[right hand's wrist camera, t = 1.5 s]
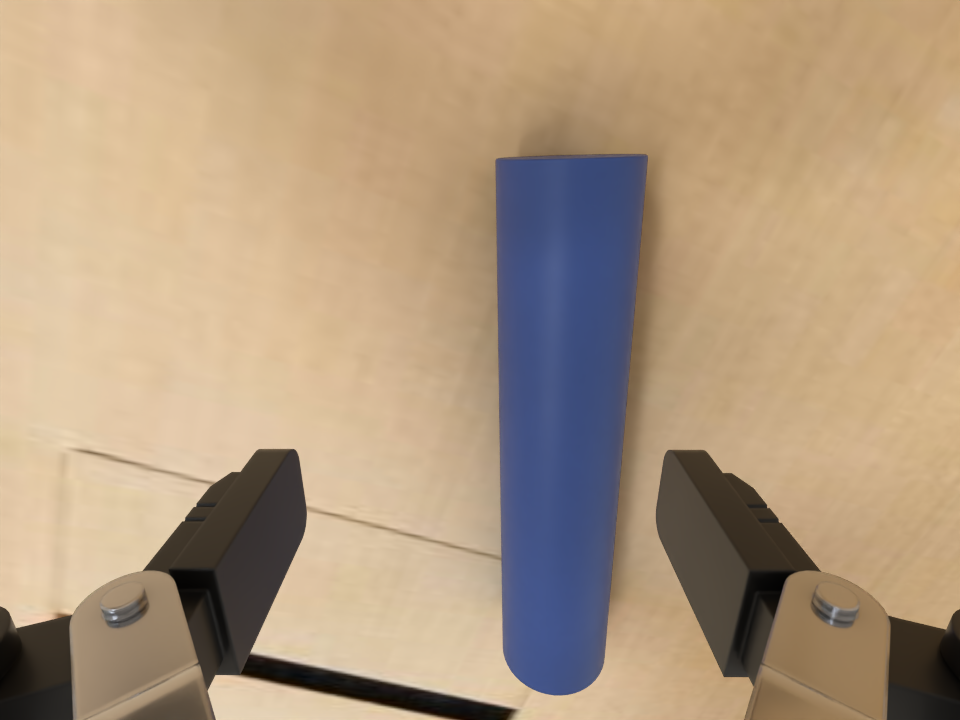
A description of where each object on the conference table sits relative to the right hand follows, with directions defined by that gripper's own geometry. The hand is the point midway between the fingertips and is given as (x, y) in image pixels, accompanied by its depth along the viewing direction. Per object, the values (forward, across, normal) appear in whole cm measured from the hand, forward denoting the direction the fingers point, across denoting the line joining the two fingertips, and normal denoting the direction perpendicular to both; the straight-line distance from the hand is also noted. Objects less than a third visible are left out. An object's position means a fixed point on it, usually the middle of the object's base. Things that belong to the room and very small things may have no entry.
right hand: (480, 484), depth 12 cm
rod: (+16, -4, +7) cm, 18 cm away
